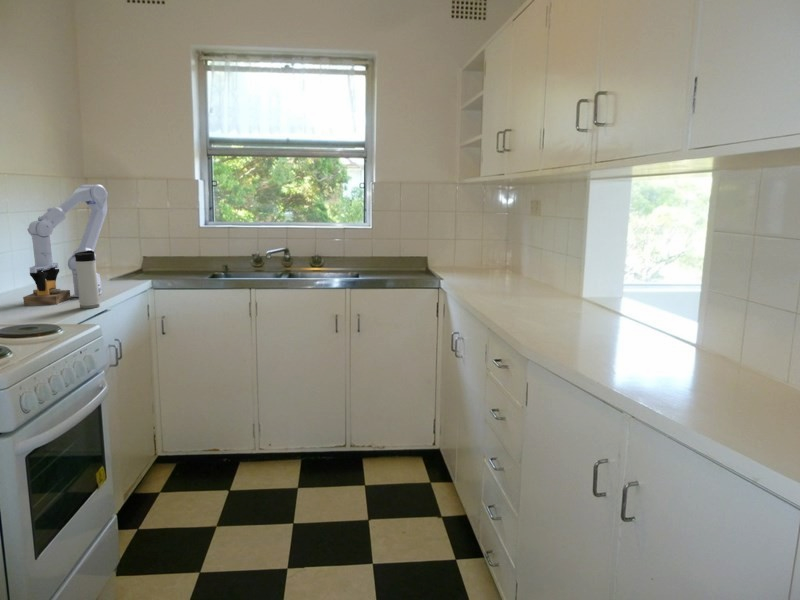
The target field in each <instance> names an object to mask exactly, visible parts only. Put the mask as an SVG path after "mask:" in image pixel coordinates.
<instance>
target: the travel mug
mask: <svg viewBox="0 0 800 600" xmlns="http://www.w3.org/2000/svg"><path fill="white" fill-rule="evenodd" d="M94 253H95V250H94V251H92V250H87V251H83V252H78V253H75V258H76V259H75V260H76V261H75V262H76V272H77V282H78V292H79V297H78V301H79V302H78V303H79V307H80V309H84V310H86V309H88V310H89V309H96V308H99V307H100V306H101V303H100V295H99V293H98V283H97V261H96V262H95V254H96V253H95V254H94Z"/></svg>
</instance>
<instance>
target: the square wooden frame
mask: <svg viewBox="0 0 800 600" xmlns="http://www.w3.org/2000/svg"><path fill="white" fill-rule="evenodd" d="M32 292H33V293H31V294H28V295H25V296H23V297H22V298H23V300H22V301H23V306H42V305H47V306H48V305H58V304H61V303H62V302H64V301H66V300H68V299H70V298H72V297H71V290H69V289H63V290H62V289H61V288H56V289H49V293H55V294H53V295H37V289H33V290H32Z"/></svg>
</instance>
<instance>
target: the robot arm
mask: <svg viewBox="0 0 800 600" xmlns="http://www.w3.org/2000/svg"><path fill="white" fill-rule="evenodd" d="M108 196H109V193H108V190H106V188H105V187H104V186H103V185H102V184H98V183H97V184H82V185H81V184H80V186H79V187H78V188H76V189H75V190H74V191H73V192H72V194H70V195H69V196H68V197H67V198H66V199H65V200H64V201H63V202H62V203H61V204H60V205H58V207H56V206H52V207H48V208H47V209H46V210H47V211H46V212H45V213H44V214H43V215H41V216H38V217H37V220H33V221H32V222H30V223H29V225H28V228H27V232H28V234H29V235H30V236H31V240H32V249H33V257H34V258H33V259H34V265H33V266H31V267H29V276H30V277H31V278H32V280H33V281H34V283H35V285H37V286H36V289H37V288H38V290H39V291H45V289H46V280H55V282H56V283H57V281H56V280H57V278H58V275H59V273H60V269H59V263H58V262H53V253H52V244H51V235H52V234H53V231H54V229H55V228H56V227H57V226H58V225H59V224H61V222H63V221H64V220H65V219H66V214H67V213H69V212H70V211H71V210H73V209H74V208H76V206H77V205H79V204H80V203H82V202H84V203H85V205H87V206H88V207H89V209H90V214H89V216H88V220H87V222H86V225H85V228H84V232H83V235H82V237H81V239H80V244H79V246H78V247H77V248H76V249H75V250H73V253H72V255H71V256H70V257H69V258H68V261H67V267H68V269H69V270H70V271H71V273H72V283H73V292H74V294H72V295H70V297H71V298H79V292H78V282H77V272H76V262H75V261H76V260H75V259H76V258H75V253H78V252H83V251H87V250H92V251H94V254H95V262H96V263H97V261H96V259H97V255H96V253H95V249H96V246H97V243H98V240H99V237H100V234H101V232H102V231H101V230H102V228H103V225H104V223H105V220H106V216H107V213H108V201H107V199H108ZM96 273H97V272H96ZM97 283H98V293H99V296H100V295H102V294H103V291H102V290H103V289H102V279H101V275H100V273H97Z"/></svg>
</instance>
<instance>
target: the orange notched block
mask: <svg viewBox="0 0 800 600" xmlns="http://www.w3.org/2000/svg"><path fill="white" fill-rule="evenodd" d="M56 283H57V281H56V282H55V280H46V289H45V291H39V290H38V288H37V285H36V284H35V285H36V290H37V295H53V294H55V293H49V289H57V284H56Z"/></svg>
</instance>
